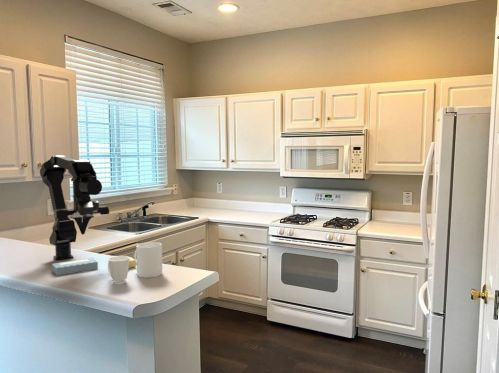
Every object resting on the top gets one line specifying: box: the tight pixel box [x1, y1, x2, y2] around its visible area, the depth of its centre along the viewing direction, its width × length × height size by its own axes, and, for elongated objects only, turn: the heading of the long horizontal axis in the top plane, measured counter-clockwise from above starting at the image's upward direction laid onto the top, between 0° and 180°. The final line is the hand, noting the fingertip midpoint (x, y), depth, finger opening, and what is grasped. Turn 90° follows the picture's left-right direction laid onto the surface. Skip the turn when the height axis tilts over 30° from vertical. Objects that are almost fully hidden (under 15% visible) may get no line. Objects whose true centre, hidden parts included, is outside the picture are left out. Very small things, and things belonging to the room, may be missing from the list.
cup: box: [107, 255, 130, 285], centre depth 129 cm, size 7×10×8 cm
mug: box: [133, 241, 163, 279], centre depth 137 cm, size 9×12×11 cm
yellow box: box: [128, 256, 137, 269], centre depth 146 cm, size 6×8×3 cm
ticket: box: [51, 257, 99, 276], centre depth 143 cm, size 8×14×3 cm, turn 126°
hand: (82, 234), depth 147 cm, fingers closed
